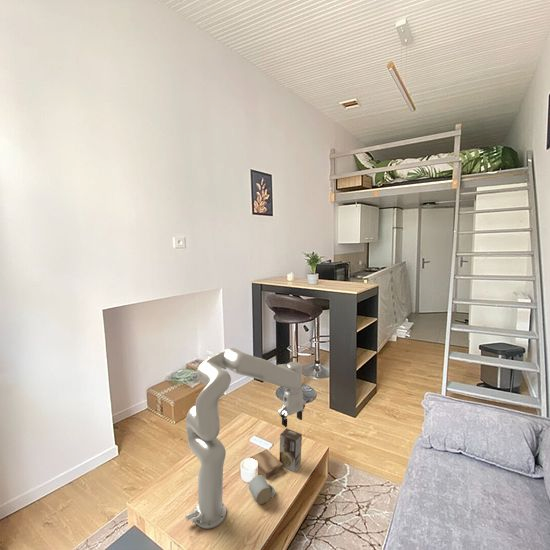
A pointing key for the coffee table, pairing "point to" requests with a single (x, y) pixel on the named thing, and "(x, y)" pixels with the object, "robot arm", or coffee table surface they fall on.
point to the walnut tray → (267, 464)
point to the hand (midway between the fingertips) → (292, 422)
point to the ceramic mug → (261, 489)
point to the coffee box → (290, 449)
